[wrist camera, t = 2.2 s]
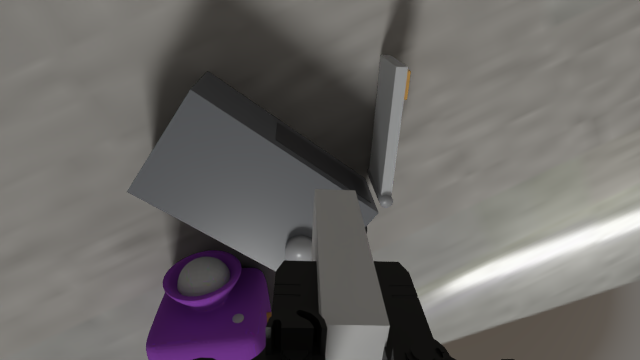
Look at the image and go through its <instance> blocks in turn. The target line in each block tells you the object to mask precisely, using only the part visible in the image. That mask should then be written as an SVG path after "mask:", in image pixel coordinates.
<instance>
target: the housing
mask: <svg viewBox="0 0 640 360" xmlns="http://www.w3.org/2000/svg"><path fill="white" fill-rule="evenodd" d="M315 189H327V190H355V191H356V195H357V199H358V203H359V207H360V211H361V215H362V218H363V222H364V226H365V230H366V234H367V225H368V224H369V223H370V222H371V221H372V219H373V218H374V217H375V216H376V215H377V214H378V210H377V208H376V205H375V203H374V200H373V198H372V195H371V192H370V190H369V187H368V185H367V182H366V179H365V178H364V177H362V176H361V175H359V174H358V173H356V172H355V171H353V170H352V169H350V168H349V167H347V166H346V165H345V164H343V163H342V162H340V161H339V160H337V159H336V158H334V157H333V156H331V155H330V154H328V153H327V152H325V151H324V150H323V149H321V148H320V147H318V146H317V145H315V144H314V143H312V142H311V141H309V140H308V139H306V138H305V137H304V136H302V135H301V134H299V133H298V132H296V131H295V130H293V129H292V128H290V127H289V126H287V125H286V124H284V123H283V122H282V121H280V120H279V119H277V118H276V117H274V116H273V115H271V114H270V113H268V112H267V111H265V110H264V109H262V108H261V107H260V106H258V105H257V104H255V103H254V102H252V101H251V100H249V99H248V98H246V97H245V96H243V95H242V94H241V93H239V92H238V91H236V90H235V89H233V88H232V87H230V86H229V85H227V84H226V83H224V82H223V81H221V80H220V79H219V78H217V77H216V76H214V75H213V74H211V73H210V72H208V71H207V72H206V73H205V74H204V76H203V77H202V78H201V79H200V80H199V81H198V82H197V83H196V84H195V85H194V86H193V87H192V88H191V89H190V91H189V92H188V94H187V96H186V97H185V99H184V100H183V102H182V104H181V105H180V107H179V108H178V110H177V112H176V113H175V115H174V116H173V118H172V120H171V121H170V123H169V125H168V126H167V128H166V129H165V131H164V133H163V134H162V136H161V137H160V139H159V141H158V142H157V144H156V146H155V147H154V149H153V150H152V152H151V154H150V155H149V157H148V158H147V160H146V162H145V163H144V165H143V167H142V168H141V170H140V171H139V173H138V175H137V176H136V178H135V179H134V181H133V183H132V184H131V186H130V187H129V189H128V191H127V192H128V193H130V194H132V195H134V196H136V197H138V198H139V199H141V200H143V201H145V202H147V203H149V204H151V205H152V206H154V207H156V208H158V209H160V210H162V211H164V212H166V213H167V214H169V215H171V216H173V217H175V218H177V219H179V220H180V221H182V222H184V223H186V224H188V225H190V226H192V227H193V228H195V229H197V230H199V231H201V232H203V233H205V234H207V235H208V236H210V237H212V238H214V239H216V240H218V241H220V242H221V243H223V244H225V245H227V246H229V247H231V248H233V249H235V250H236V251H238V252H240V253H242V254H244V255H246V256H248V257H249V258H251V259H253V260H255V261H257V262H259V263H261V264H263V265H264V266H266V267H268V268H270V269H272V270H274V271H276V270H277V269H278V268H279V266H280V265H281V264H282V262H283V261H284V260H289V261H312V253H311V249H312V231H313V214H314V196H315Z"/></svg>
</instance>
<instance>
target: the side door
mask: <svg viewBox="0 0 640 360" xmlns="http://www.w3.org/2000/svg"><path fill="white" fill-rule="evenodd" d="M410 73H411V71H410V70H408V67H407V66H406V65H404V64H403V63H401V62H400V61H399V60H397V59H396V58H394V57H393V56H392V55H381V57H380V67H379V77H378V87H377V97H376V107H375V117H374V127H373V137H372V147H371V157H370V167H369V169H368V170H367V173H368V176H369V178H370V181H371V183H372V186H373V188H374V191H375V193H376V195H377V198H378V200H379V203H380V205H381V206H382V207H384V208H387V207H390V206H391V205H392V203H393V200H392V197H391V195H392V187H393V179H394V172H395V164H396V156H397V149H398V141H399V134H400V126H401V118H402V111H403V103H404V100H407V95H408V88H409V80H410Z"/></svg>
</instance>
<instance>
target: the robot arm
mask: <svg viewBox="0 0 640 360" xmlns="http://www.w3.org/2000/svg"><path fill="white" fill-rule="evenodd" d="M311 253H312V261H289V260H284V261H283V262H282V264H281V265H280V266H279V268H278V269H277V270H276V276H275V286H274V297H273V305H272V315H271V317H270V318H269V320H268V322H267V325H266V346H265V348H264V349H263V350H262V351H261V352H260V353H259V354H258V355H257V356H256V357H254V358H253V359H251V360H455V359H454V358H452V357H451V356H450V355H449V353H448V352H447V350H446V349H445V347H443V346H442V345H441V344H440V343H439V342H438V341H436V340H434V338H433V336H432V333H431V331H430V328H429V325H428V323H427V320H426V317H425V315H424V312H423V309H422V306H421V304H420V301H419V298H417V293H416V290H415V288H414V285H413V282H412V279H411V277H410V274H409V272H408V271H407V270H406V269H405V268H404V267H403V266H402V265H401V264H400V263H399V262H378V261H373V258H372V254H371V250H370V246H369V242H368V238H367V234H366V230H365V226H364V222H363V218H362V215H361V211H360V207H359V203H358V199H357V195H356V191H355V190H327V189H315V196H314V214H313V231H312V249H311ZM193 360H216V359H213V358H201V357H200V358H196V359H193ZM502 360H514V359H502Z"/></svg>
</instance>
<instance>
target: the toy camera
mask: <svg viewBox="0 0 640 360" xmlns="http://www.w3.org/2000/svg"><path fill="white" fill-rule="evenodd" d="M163 288H164V290H165V294H164V297H163V299H162V301H161V304H160V306H159V309H158V311H157V314H156V316H155V319H154V321H153V324H152V327H151V329H150V332H149V335H148V338H147V343H146V351H147V356H148V359H149V360H193V359H196V358H200V357H201V358H213V359H216V360H251V359H253V358H254V357H256V356H257V355H258V354H259V353H260V352H261V351H262V350H263V349H264V348H265V346H266V325H267V322H268V320H269V318H270V317H271V315H272V312H271V307H270V300H269V294H268V288H267V283H266V279H265V276H264V274H263V273H262V271H261V270H259V269H257V268H241V263H240V261H239V260H238V259H237V258H236V257H235V256H234V255H232V254H230V253H228V252H224V251H217V250H210V251H203V252H199V253H196V254H193V255H190V256H188V257H186V258H184V259H182V260H180V261H179V262H177V263H176V264H175V265H173V266H172V267H171V268H170V269H169V270H168V272H167V273H166V275H165V276H164V279H163Z"/></svg>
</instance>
